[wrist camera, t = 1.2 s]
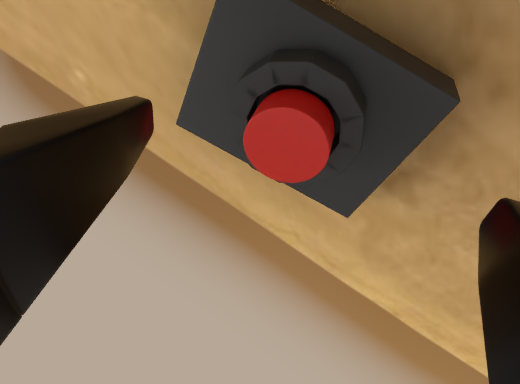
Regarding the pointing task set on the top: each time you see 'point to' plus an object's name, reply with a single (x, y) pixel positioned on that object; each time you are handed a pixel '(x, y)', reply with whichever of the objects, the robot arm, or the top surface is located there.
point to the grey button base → (316, 89)
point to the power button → (290, 136)
